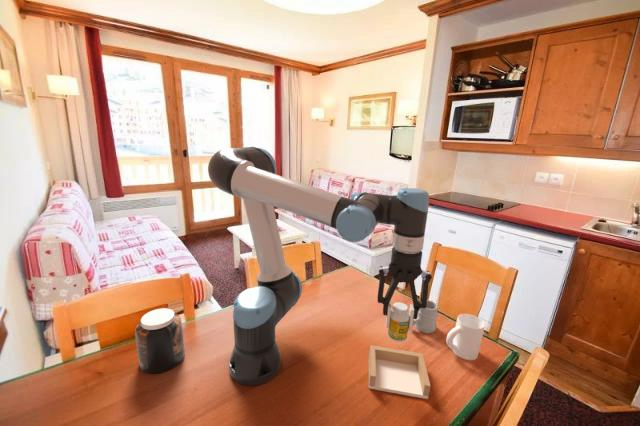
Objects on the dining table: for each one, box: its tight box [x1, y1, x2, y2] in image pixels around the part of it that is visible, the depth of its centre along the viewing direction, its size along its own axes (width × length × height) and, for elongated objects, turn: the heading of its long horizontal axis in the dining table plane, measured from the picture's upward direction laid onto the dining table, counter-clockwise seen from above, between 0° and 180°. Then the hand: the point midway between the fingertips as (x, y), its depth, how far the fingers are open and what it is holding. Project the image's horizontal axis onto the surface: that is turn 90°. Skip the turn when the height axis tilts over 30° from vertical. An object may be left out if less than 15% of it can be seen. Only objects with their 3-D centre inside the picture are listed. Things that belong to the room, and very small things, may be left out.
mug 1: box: [412, 299, 439, 334], centre depth 105 cm, size 8×12×12 cm, turn 105°
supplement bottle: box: [387, 301, 409, 343], centre depth 79 cm, size 5×5×10 cm
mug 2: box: [445, 313, 486, 361], centre depth 93 cm, size 8×12×12 cm
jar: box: [134, 307, 185, 375], centre depth 84 cm, size 12×12×15 cm
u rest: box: [368, 344, 431, 400], centre depth 83 cm, size 16×12×4 cm
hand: (398, 326), depth 79 cm, fingers closed on supplement bottle, 5 cm apart
